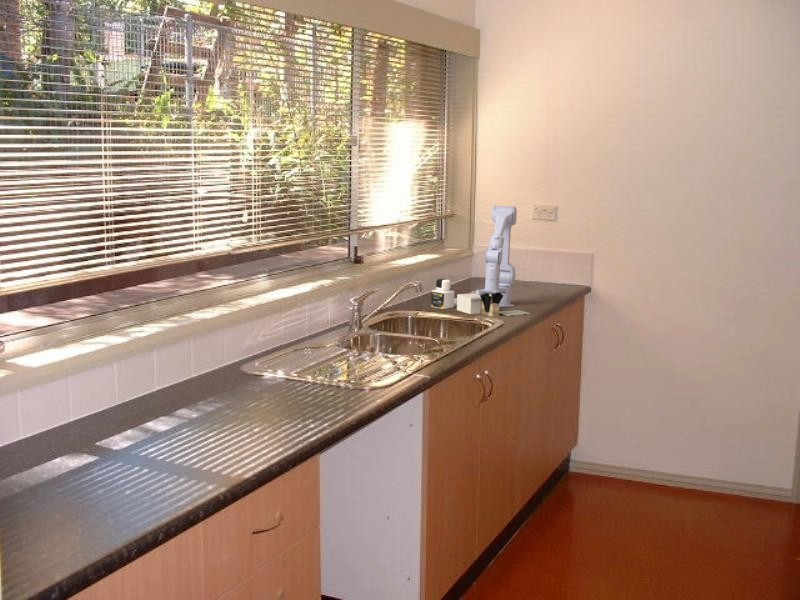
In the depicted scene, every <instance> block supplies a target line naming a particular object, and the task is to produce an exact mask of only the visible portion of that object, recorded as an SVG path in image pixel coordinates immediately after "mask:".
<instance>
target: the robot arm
mask: <svg viewBox="0 0 800 600" xmlns="http://www.w3.org/2000/svg"><path fill="white" fill-rule="evenodd" d="M517 212H518V209H517V207H516V206H515V205H514V206H508V205H507V206H506V205H504V206H503V205H493V206H492V209H491V218H492V220H493V223H495V224H494V230H493V231H494V233H493V235H490V238H489V243H488V247H487V250H485V253H484V264H485V265H484V267H485V283H484V284H485V285H484V288H483V289H482V288H481V289H476V290H475V293H476V295H480V297H481V299H482V301H483V304H484V309H485V312H489V310H490V302H491V298H492V302H493V303H497V304H499V308H509V307H515V304H512V303H511V298H512V297H511V296H512V294H511V293H512V286H514V284H516V283H515V282H516V268H515V267H514V265H512V264H511V263H510V253H511V252H510V251H511V250H510V249H511V235H512V234H511V231H512V227H513V226H514V225H516V224H517V218H518V216H517V215H518V213H517ZM489 294H491V295H492V296H490V295H489Z"/></svg>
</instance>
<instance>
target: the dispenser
mask: <svg viewBox="0 0 800 600" xmlns="http://www.w3.org/2000/svg"><path fill="white" fill-rule="evenodd" d="M489 295H490V296H492V295H491V294H489ZM456 299H457V300H456V311H458V312H459V311H460V312H462V313H466V314H468V315H476V314H481V313H480V310H481V301H482V299H481V297H480V295H476V292H474V293H472V292H471V293H459V294H457V297H456ZM491 302H492V298H491Z"/></svg>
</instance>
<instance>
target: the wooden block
mask: <svg viewBox="0 0 800 600" xmlns="http://www.w3.org/2000/svg"><path fill="white" fill-rule="evenodd" d="M499 311H500V307H499V304H497V303H493V302H490V310H489V312H485V309H484V304H483V301H481V310H480V313H479V314H482V315H485V316H488V317H491V316H492V318H494V317H500V314H499Z"/></svg>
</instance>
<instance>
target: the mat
mask: <svg viewBox="0 0 800 600" xmlns="http://www.w3.org/2000/svg"><path fill="white" fill-rule="evenodd" d="M502 314H503V315H502ZM524 314H526V315H531V312H527V311H523V310H521V309H520V310H519V309H515V310H513V309H512V310H502V311H500V310H499V315H502V316H505V315H506V316H507V317H512V316H511V315H514V316H524ZM506 316H505V317H506Z"/></svg>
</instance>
